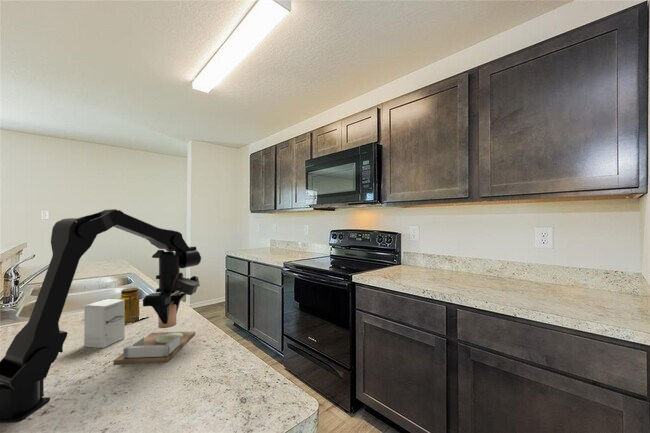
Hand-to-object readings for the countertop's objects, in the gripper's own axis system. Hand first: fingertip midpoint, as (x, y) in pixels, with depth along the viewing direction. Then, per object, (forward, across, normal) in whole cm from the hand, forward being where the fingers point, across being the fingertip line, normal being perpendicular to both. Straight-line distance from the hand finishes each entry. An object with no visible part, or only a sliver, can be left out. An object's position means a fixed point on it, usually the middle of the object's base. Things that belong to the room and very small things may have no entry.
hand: (169, 320), depth 88 cm
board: (+6, -4, +1) cm, 8 cm away
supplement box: (+7, +1, +20) cm, 21 cm away
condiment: (+7, +21, +24) cm, 32 cm away
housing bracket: (+5, -9, 0) cm, 11 cm away
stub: (+1, 0, +1) cm, 2 cm away
